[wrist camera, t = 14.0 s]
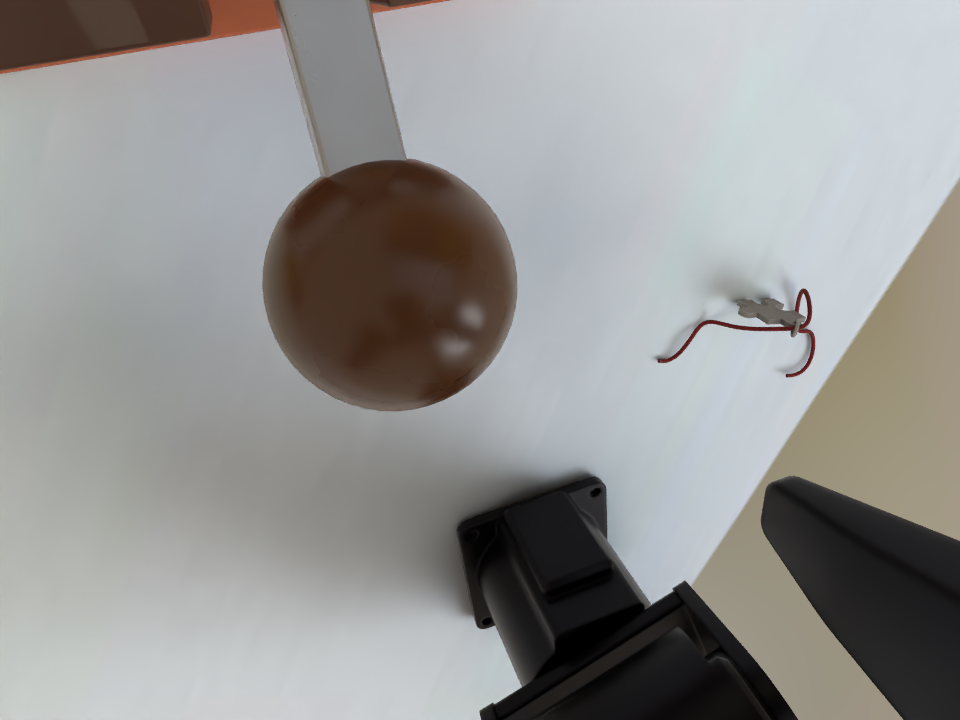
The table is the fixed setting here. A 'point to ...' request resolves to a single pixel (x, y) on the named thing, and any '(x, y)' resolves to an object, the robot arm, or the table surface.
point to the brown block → (128, 26)
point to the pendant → (769, 314)
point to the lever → (378, 237)
